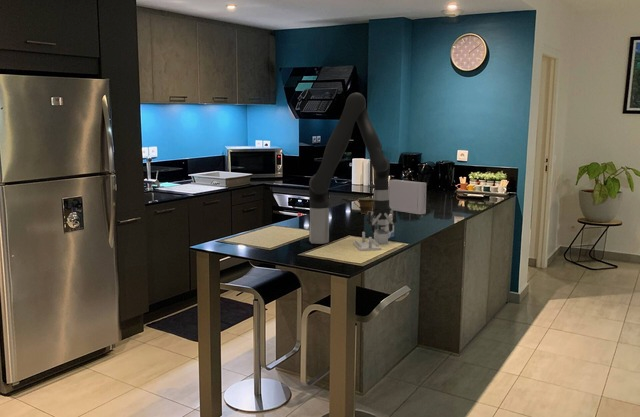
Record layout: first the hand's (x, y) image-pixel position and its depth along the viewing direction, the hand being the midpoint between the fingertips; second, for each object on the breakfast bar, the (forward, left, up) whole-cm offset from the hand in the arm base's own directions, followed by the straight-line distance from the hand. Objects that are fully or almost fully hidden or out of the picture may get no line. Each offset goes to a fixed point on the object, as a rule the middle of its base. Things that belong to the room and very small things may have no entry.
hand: (381, 231), depth 277 cm
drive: (-1, 0, -6) cm, 6 cm away
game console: (+42, +91, -6) cm, 100 cm away
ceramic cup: (+12, +86, -6) cm, 87 cm away
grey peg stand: (-10, -8, -5) cm, 14 cm away
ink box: (+5, +12, -6) cm, 14 cm away
